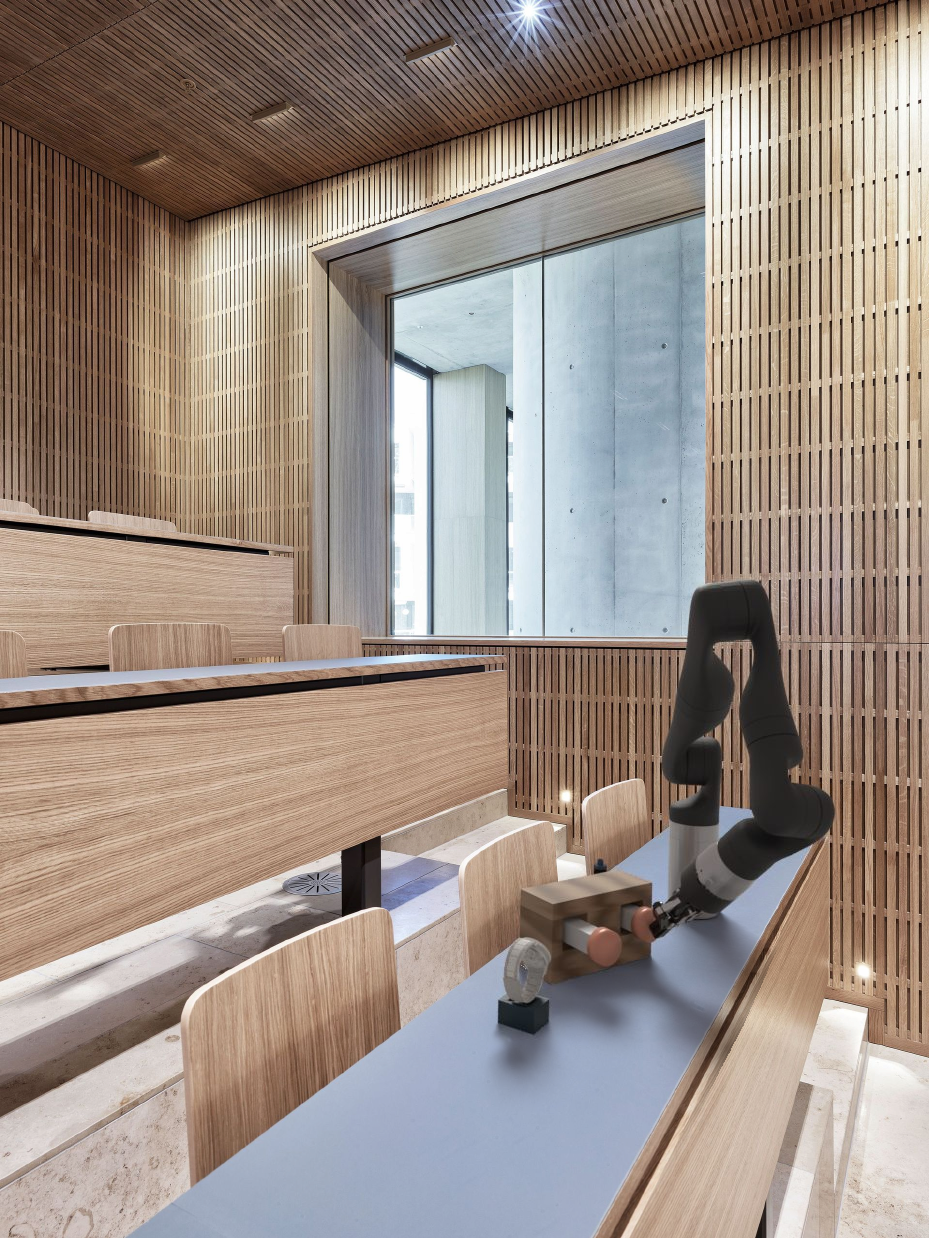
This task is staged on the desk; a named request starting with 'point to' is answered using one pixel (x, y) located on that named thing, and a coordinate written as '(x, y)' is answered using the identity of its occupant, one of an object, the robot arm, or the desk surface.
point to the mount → (582, 918)
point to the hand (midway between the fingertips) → (654, 932)
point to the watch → (525, 987)
